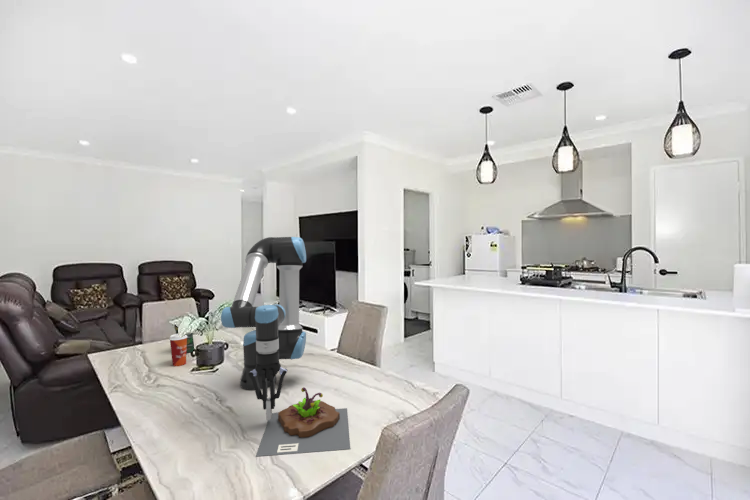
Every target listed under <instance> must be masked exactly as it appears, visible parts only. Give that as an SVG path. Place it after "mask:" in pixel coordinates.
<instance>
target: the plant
mask: <svg viewBox="0 0 750 500" xmlns="http://www.w3.org/2000/svg"><path fill="white" fill-rule="evenodd" d="M301 392H302V393H304V392H305V397H304V398H302V401H300V400H299V401H298V403H294V404H291V405H289V406H288V407H286V408H285V409H282V410H281V411H279V412H277V413H278V421H279V422H280V423H281V426H282V427H283V428H284V432H288V433H289V435H298V436H299V437H310V436H313V435H315V434H316V433H318V432H319V431H322V430H324V429H327V428H329V427H333V426H334V425H335V424H336V423H337V422H338V420H339V419H340V413H339V412H337V411H335V409H336V407H335V406H333V405H330V404H329V403H326V402H325V401H322V400H321V399H320V398H323V396H324V394H323V393H322V392H317V393H315V394H314V395H312V397H310V396H309V392H308V390H307V388H306V387H304V386H303V387H301ZM317 396H318V397H319V399H317V400H314V399H315V398H316V397H317Z"/></svg>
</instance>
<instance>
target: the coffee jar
mask: <svg viewBox="0 0 750 500" xmlns="http://www.w3.org/2000/svg"><path fill="white" fill-rule="evenodd" d="M173 328H174V330H175V334H178V327H177V326H176V325H175V324H174V327H173ZM193 335H194V332H193V333H191V334H188V335H187V336H188V337H187V350H186V354H188V353H189V354H190V353H192V352H194V351H195V342H194V336H193ZM193 350H194V351H193Z"/></svg>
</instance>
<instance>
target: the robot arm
mask: <svg viewBox="0 0 750 500" xmlns="http://www.w3.org/2000/svg"><path fill="white" fill-rule="evenodd" d="M305 246H306V245H305V242H304V239H303V238H302V237H300V236H299V237H298V236H281V237H277V236H274V237H271V236H270V237H264V238H262V239H260V240H259V241H257V242H256V243H255V244H254V245H252V247H251V248H250V249H249V250H248V252H247V254H246V256H245V259H244V260H245V266H244V267H245V268H244V270H243V273H242V275H241V279H240V282H239V284H238V286H237V290H236V292H235V295H234V298H233V302H232V305H231V306H226V307H224V308H222V311H221V314H220V321H221V325H222V326H223V327H224V328H231V329H237V328H239V329H240V328H255V329H254V330H251V331H249V332H247V333H245V335H244V336H243V340H242V341H243V344H242V347H243V348H242V349H243V369H242V373H241V376H240V381H239V383H240V384H239V385H240V388H242V389H243V390H249V391H252V390H253V391H255V396H256V400H261V401H262V410H264V411H265V412H266V413H265V414H266V421H268V420H271V418H272V413H273V410H274V409H275V407H276V399H279V398H280V396H281V393H282V389H283V383H284V379H285V376H286V375H287V373H288V369H287V368H283V367H282V365H281V363H280V360H298V359H301V358H302V357H303V356H304V352H305V347H306V342H307V332H306V331H303V326H302V325H301V324H300V270H301V269H302V268H303V264H305V263H306V262H307V252H306V247H305ZM269 264H275V266H276V267H275V268H277V269H278V270H279V298H278V299H279V302H278V303H279V304H276V303H275V304H265V305H263V304H262V305H260V306H254V303H255V300H256V297H257V294H258V290H259V287H260V283H261V280H262V278H263V277H262V276H263V273H264V270H265V268H267V267H268V265H269ZM278 372H279V375H280V377H279V380H278V385H277V388H276V387H275V386H276V384H275V383H277V374H278ZM268 388H269V393H270V394H268ZM275 388H276V389H275ZM268 396H269V397H268Z"/></svg>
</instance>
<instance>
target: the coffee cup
mask: <svg viewBox="0 0 750 500" xmlns="http://www.w3.org/2000/svg"><path fill="white" fill-rule="evenodd" d="M187 337H188V336H187V335H185V336H183V337H182V338H181V337H179V335H178V334H176V333H174V334H171V335H170V336H169V342H170V352H171V353H170V354H171V361H172V366H173V367H180V366H185V365H186V364H187V353H186V350H187Z"/></svg>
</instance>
